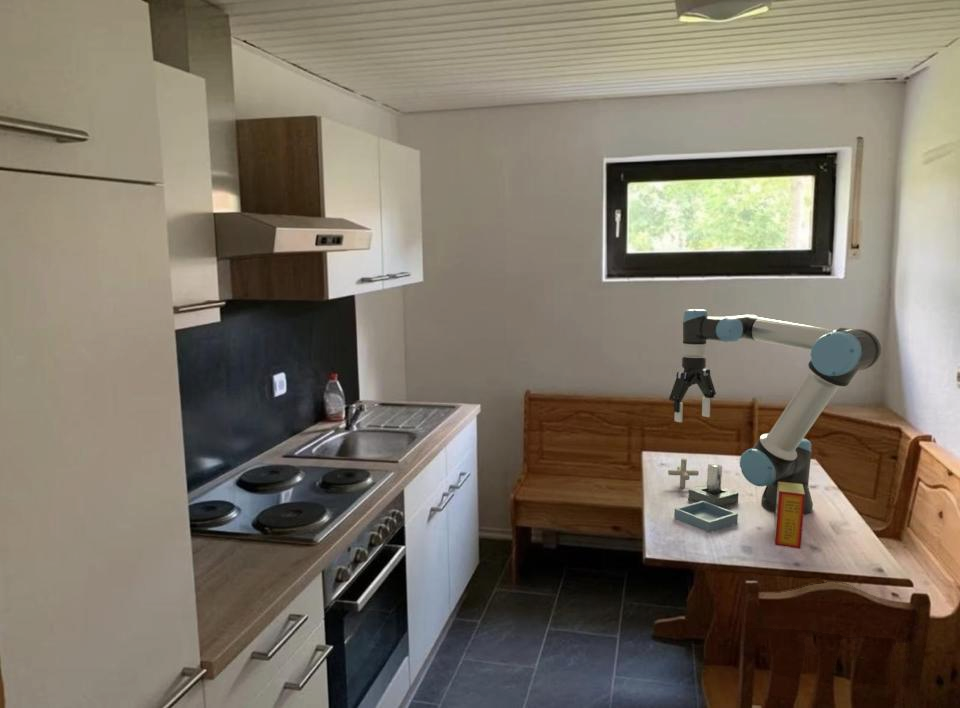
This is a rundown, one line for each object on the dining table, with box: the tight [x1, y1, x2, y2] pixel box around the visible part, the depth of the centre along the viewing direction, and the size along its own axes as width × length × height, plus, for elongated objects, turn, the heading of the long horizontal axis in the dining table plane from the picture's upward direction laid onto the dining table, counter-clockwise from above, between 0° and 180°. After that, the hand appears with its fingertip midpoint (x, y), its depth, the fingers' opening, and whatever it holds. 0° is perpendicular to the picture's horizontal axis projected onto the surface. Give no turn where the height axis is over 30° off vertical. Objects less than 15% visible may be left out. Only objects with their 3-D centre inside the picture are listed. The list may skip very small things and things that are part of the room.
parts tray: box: [673, 501, 739, 534], centre depth 219 cm, size 13×13×3 cm
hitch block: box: [687, 483, 740, 508], centre depth 236 cm, size 11×11×4 cm
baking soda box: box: [773, 481, 805, 550], centre depth 204 cm, size 10×6×16 cm
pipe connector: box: [667, 457, 700, 489], centre depth 249 cm, size 10×10×10 cm
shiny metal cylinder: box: [706, 463, 723, 495], centre depth 235 cm, size 4×4×12 cm
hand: (692, 419), depth 242 cm, fingers open, 13 cm apart
